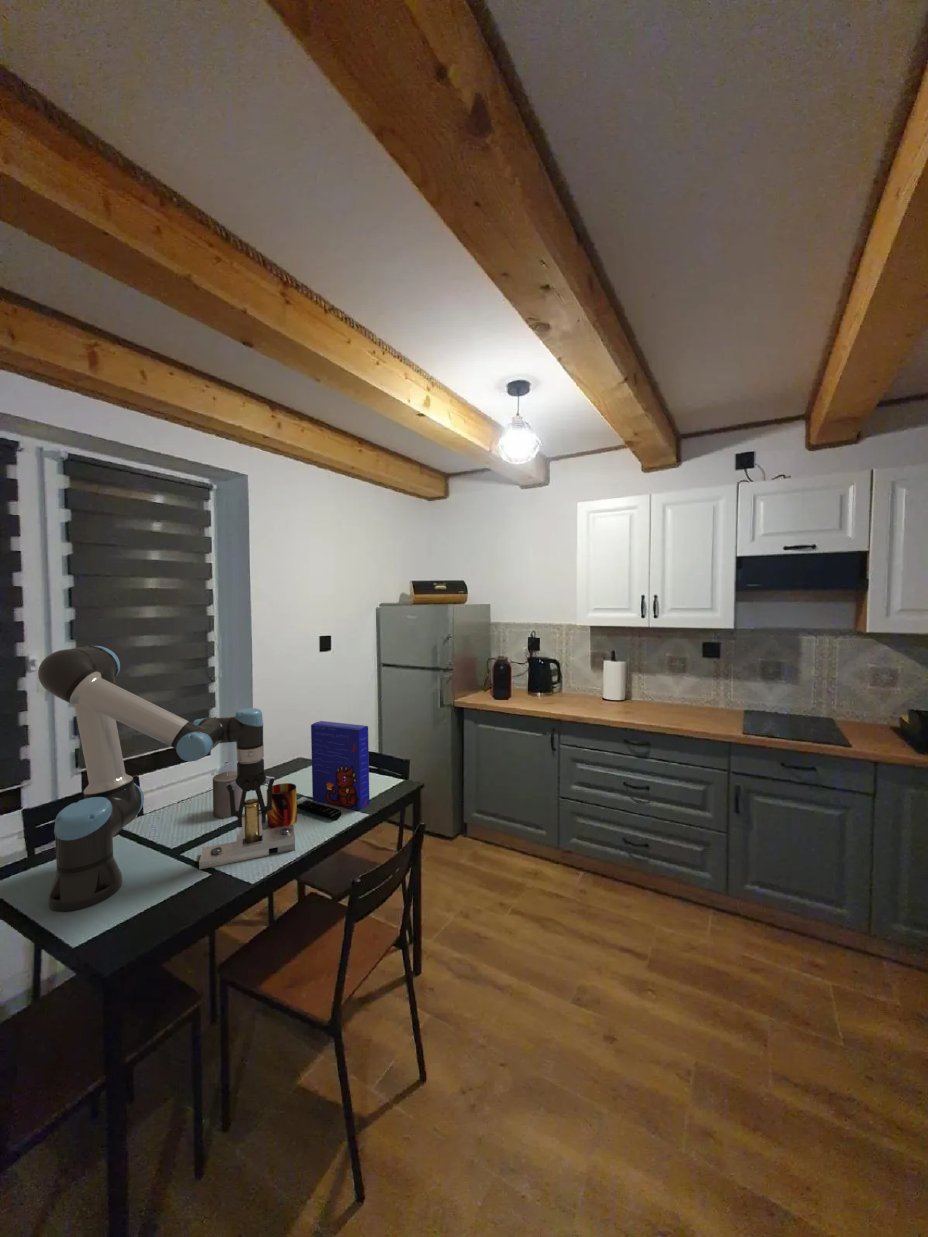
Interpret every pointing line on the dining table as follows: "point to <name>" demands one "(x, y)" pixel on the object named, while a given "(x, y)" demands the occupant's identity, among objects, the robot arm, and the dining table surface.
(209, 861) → the slotted metal plate
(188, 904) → the dining table surface
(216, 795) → the pillar candle
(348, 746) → the cereal box
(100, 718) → the robot arm
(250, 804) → the brass pin
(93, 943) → the dining table surface
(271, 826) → the mug
